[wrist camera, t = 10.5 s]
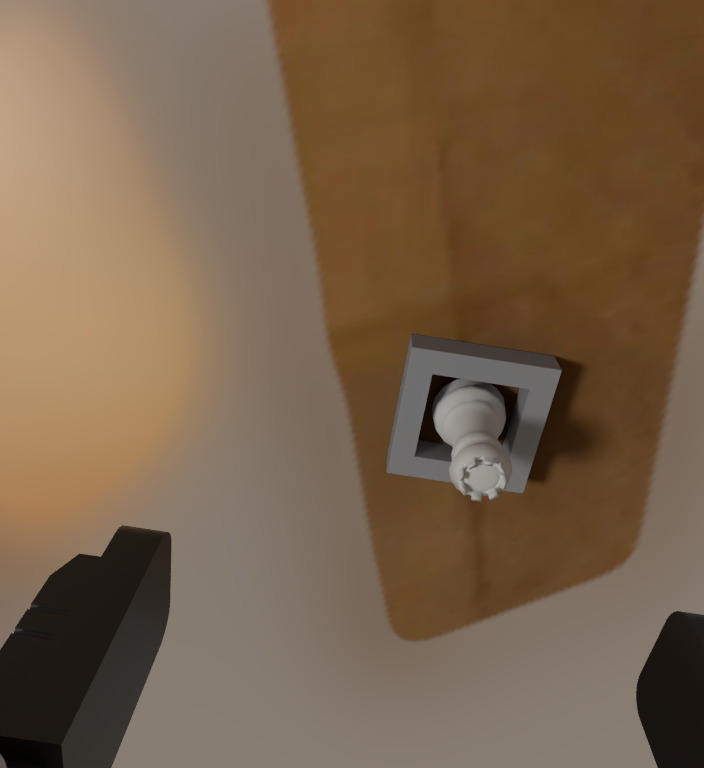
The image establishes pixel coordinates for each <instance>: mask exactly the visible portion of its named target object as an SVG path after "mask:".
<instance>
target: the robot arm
mask: <svg viewBox="0 0 704 768" xmlns="http://www.w3.org/2000/svg"><path fill="white" fill-rule="evenodd" d="M170 581H171V536H170V533H168V532H162V531H155V530H150V529H142V528H136V527H129V526H121V527H120V528H119V529H118V530H117V532H116V533H115V534H114V536H113V538H112V540H111V541H110V543H109V545H108V546H107V548H106V550H105V551H104V553H103V555H102V556H101V557H98V556H91V555H84V554H79V555H77V556H76V557H75V558H73V559H72V560H71V561H69V562H68V563H66V564H65V565H64V566H63V567H61V568H60V569H58V570H57V571H56V572H54V573H53V574H52V575H50V577H49V578H48V580H47V581H46V582H45V584H44V586H43V587H42V589H41V590H40V591H39V593H38V594H37V596H36V597H35V599H34V601H33V602H32V603H31V608H30V610H27V611H26V612H25V614H24V615H23V617H22V618H21V620H20V621H19V623H18V624H17V626H16V627H15V632H14V634H11V635H10V636H9V638H8V639H7V641H6V642H5V644H4V645H3V647H2V648H1V650H0V768H111V767H112V764H113V762H114V759H115V757H116V754H117V752H118V749H119V747H120V744H121V742H122V739H123V737H124V735H125V732H126V730H127V727H128V725H129V722H130V720H131V717H132V715H133V712H134V709H135V707H136V705H137V702H138V700H139V697H140V695H141V692H142V690H143V687H144V685H145V682H146V680H147V677H148V675H149V672H150V670H151V667H152V665H153V663H154V660H155V657H156V655H157V652H158V650H159V648H160V645H161V642H162V639H163V636H164V633H165V629H166V625H167V620H168V615H169V608H170ZM636 700H637V708H638V714H639V717H640V721H641V723H642V726H643V729H644V731H645V734H646V737H647V739H648V742H649V745H650V748H651V750H652V753H653V756H654V758H655V761H656V764H657V766H658V768H704V615H700V614H693V613H686V612H680V611H676V612H673V613H672V614H671V615H670V616H669V617H668V619H667V620H666V622H665V624H664V626H663V628H662V630H661V633H660V635H659V637H658V639H657V641H656V643H655V645H654V647H653V649H652V651H651V653H650V655H649V657H648V659H647V661H646V663H645V666H644V667H643V669H642V671H641V673H640V676H639V679H638V683H637V692H636Z"/></svg>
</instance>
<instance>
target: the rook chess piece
mask: <svg viewBox="0 0 704 768" xmlns="http://www.w3.org/2000/svg"><path fill="white" fill-rule="evenodd" d="M431 411H432V417H433V422H434V424H435V429H436V431H437V432H438V433H439V435H440V436H441V438H442V439H443V440H444V442H446V443H448V444H449V445H451V446H452V447H453V450H452V453H451V458H452V461H451V464H450V468H449V474H450V480H451V481H452V483H453V484H454V486H455V487H456V488H457V489H458V490H460V491H461V492H462V494H463V495H465V494H467V495H471V500H474V501H479V502H481V496H488V495H489V498H490V501H491V500H493V499H495V498H497V497H499V494H498V491H500V490H502V489H504V490H505V489H506V487H507V484H508V482H509V480H510V478H511V475H512V472H513V470H512V462H511V460H510V458H509V457H508V455H507V454H506V452H504V451H503V447H502V445H501V444H500V442H499V441H498V439H497V438H498V437H499V435H500V434H501V433H502V430H503V428H504V425H505V422H506V411H505V404H504V398H503V397H502V395H501V394H500V392H499V391H498V389H497V388H496V387H495V386H493V385H492V384H490V383H486V382H480V381H473V380H467V379H458V380H455V381H453V382H451V383H450V384H448V385H446V386H444V387H443V388H442V389H441V390H440V392H439V393H438V394H437V395H436V397H435V398H434V402H433V406H432V409H431Z"/></svg>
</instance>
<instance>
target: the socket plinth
mask: <svg viewBox="0 0 704 768" xmlns="http://www.w3.org/2000/svg"><path fill="white" fill-rule="evenodd" d="M561 372H562V370H561V368H560V366H559V364H558V362H557V360H556V358H555V356H551V355H545V354H538V353H532V352H525V351H519V350H513V349H506V348H500V347H493V346H487V345H480V344H474V343H467V342H461V341H455V340H448V339H442V338H435V337H429V336H422V335H416V334H411V337H410V342H409V347H408V352H407V357H406V363H405V368H404V373H403V378H402V383H401V388H400V393H399V398H398V403H397V408H396V413H395V418H394V424H393V429H392V434H391V439H390V444H389V449H388V454H387V473H393V474H399V475H406V476H412V477H419V478H425V479H432V480H438V481H445V482H451V483H452V481H451V480H450V474H449V468H450V464H451V461H452V458H451V453H452V450H453V447H452V446H451V445H446V444H440V443H433V442H427V441H420V440H418V438H419V433H420V429H421V424H422V420H423V415H424V411H425V406H426V401H427V397H428V392H429V388H430V383H431V379H432V374H434V375H441V376H447V377H454V378H460V379H467V380H473V381H480V382H486V383H492V384H499V385H505V386H512V387H518V388H519V392H518V395H517V399H516V402H515V405H514V409H513V412H512V416H511V419H510V423H509V426H508V430H507V433H506V437H505V440H504V444H503V451H504V452H506V454H507V455H508V457H509V458H510V460H511V462H512V470H513V472H512V475H511V478H510V480H509V482H508V484H507V487H506V489H505V490H504V489H502V490H503V491H510V492H517V493H523V492H524V489H525V486H526V482H527V479H528V476H529V473H530V470H531V467H532V463H533V460H534V457H535V454H536V451H537V448H538V444H539V441H540V438H541V435H542V432H543V429H544V425H545V422H546V419H547V416H548V413H549V410H550V406H551V403H552V400H553V397H554V394H555V391H556V388H557V384H558V381H559V378H560V375H561Z"/></svg>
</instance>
